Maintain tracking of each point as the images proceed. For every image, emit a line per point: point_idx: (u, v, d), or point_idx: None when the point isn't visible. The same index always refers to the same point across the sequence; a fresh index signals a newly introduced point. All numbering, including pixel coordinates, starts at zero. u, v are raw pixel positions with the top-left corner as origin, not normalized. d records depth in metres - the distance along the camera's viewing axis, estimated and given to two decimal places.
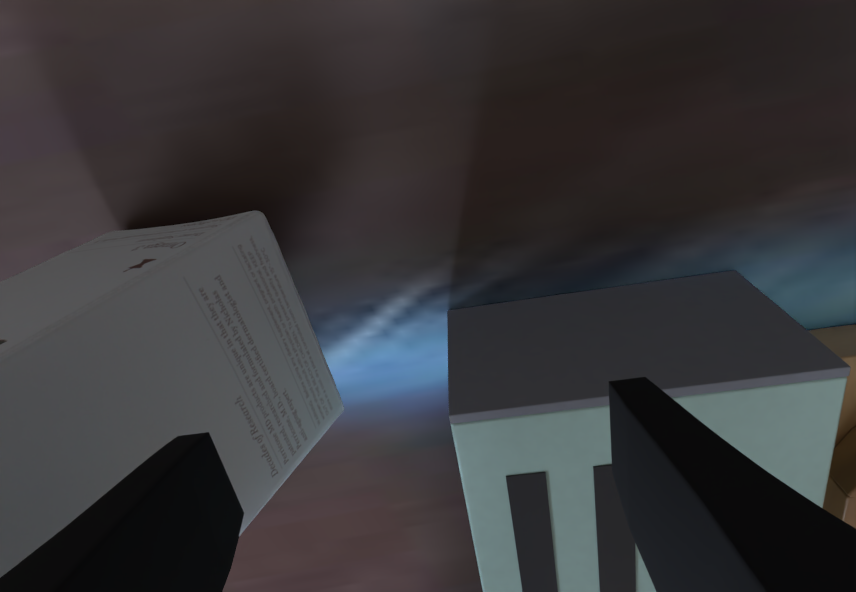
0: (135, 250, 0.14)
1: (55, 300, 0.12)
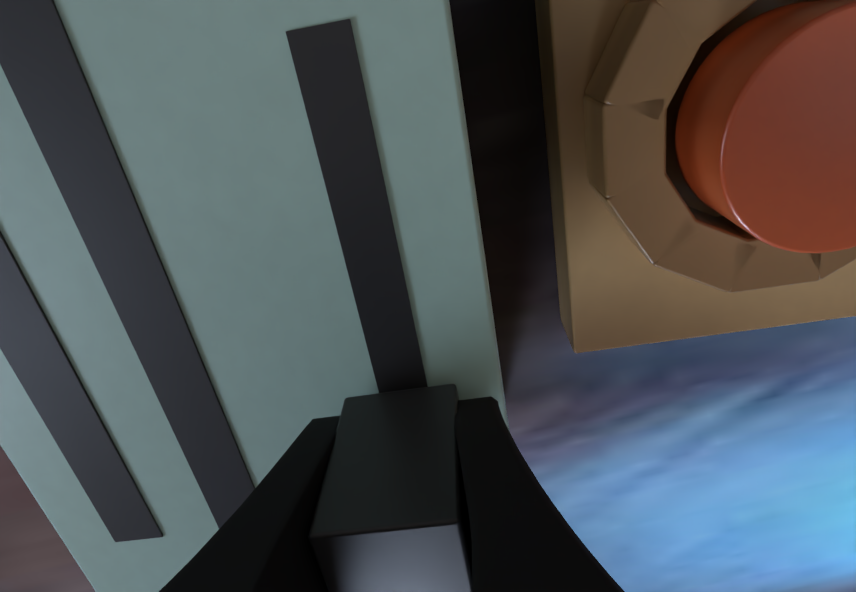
0: None
1: None
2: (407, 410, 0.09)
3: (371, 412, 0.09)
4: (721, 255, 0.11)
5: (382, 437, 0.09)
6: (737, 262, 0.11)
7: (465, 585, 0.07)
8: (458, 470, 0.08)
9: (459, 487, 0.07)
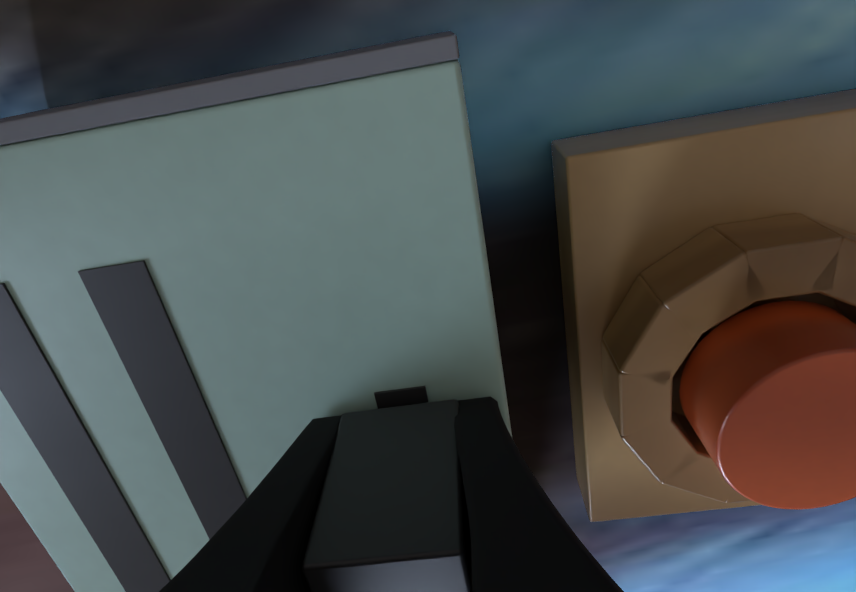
0: None
1: None
2: (406, 429, 0.09)
3: (369, 429, 0.09)
4: (718, 477, 0.13)
5: (381, 457, 0.08)
6: None
7: None
8: (461, 495, 0.07)
9: (462, 514, 0.07)
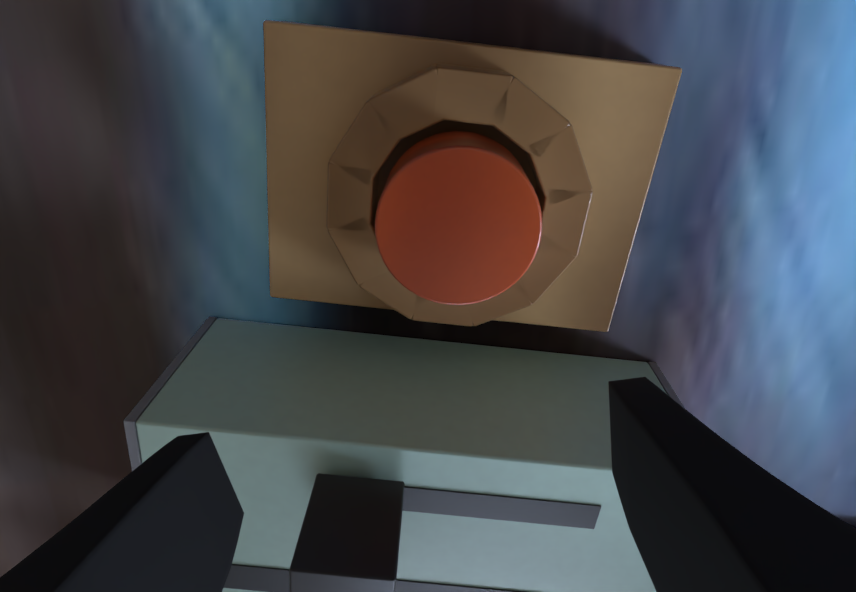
0: None
1: None
2: None
3: None
4: (542, 260, 0.15)
5: None
6: (552, 250, 0.15)
7: (343, 577, 0.12)
8: (300, 536, 0.13)
9: (298, 546, 0.13)
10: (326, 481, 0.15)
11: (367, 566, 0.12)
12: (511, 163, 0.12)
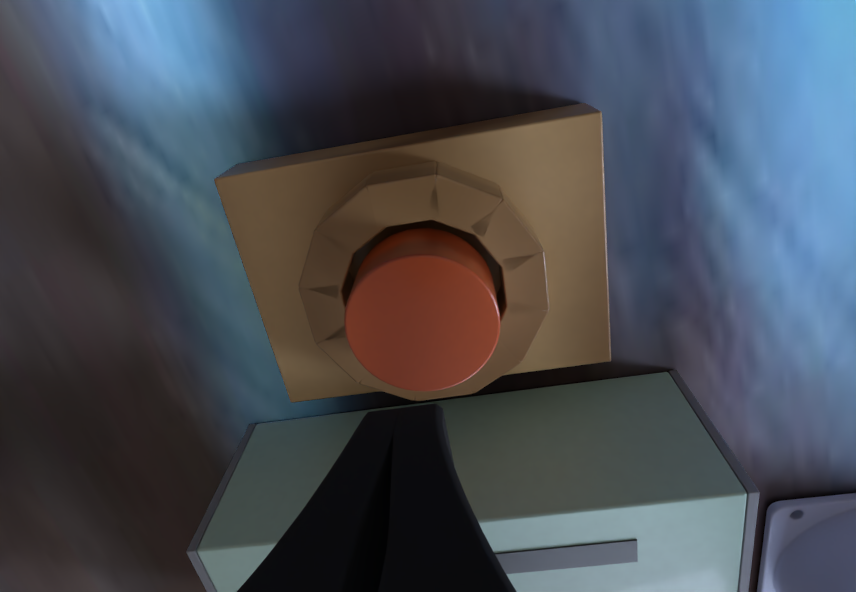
0: None
1: None
2: None
3: None
4: (517, 322, 0.16)
5: None
6: (523, 311, 0.16)
7: None
8: None
9: None
10: None
11: None
12: (449, 259, 0.13)
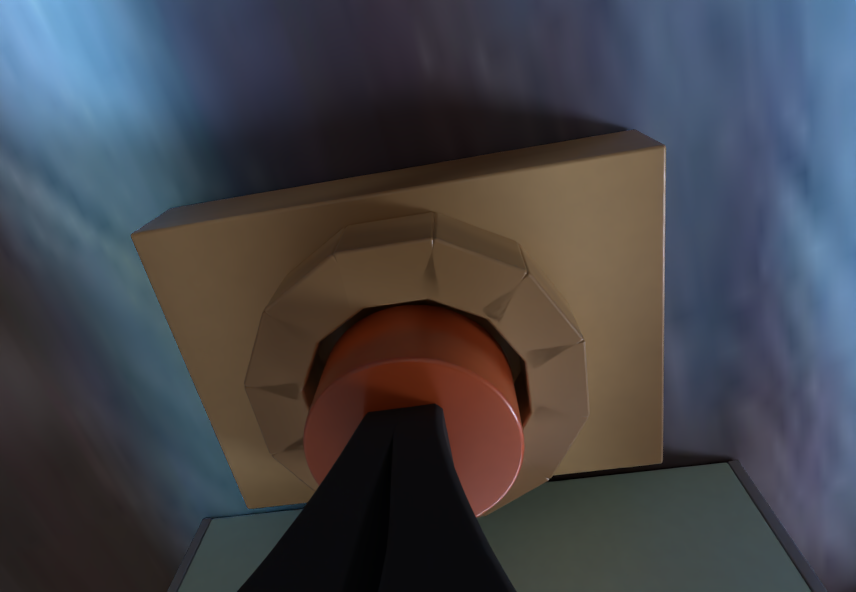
0: None
1: None
2: None
3: None
4: (545, 431, 0.12)
5: None
6: (554, 417, 0.11)
7: None
8: None
9: None
10: None
11: None
12: (453, 365, 0.09)
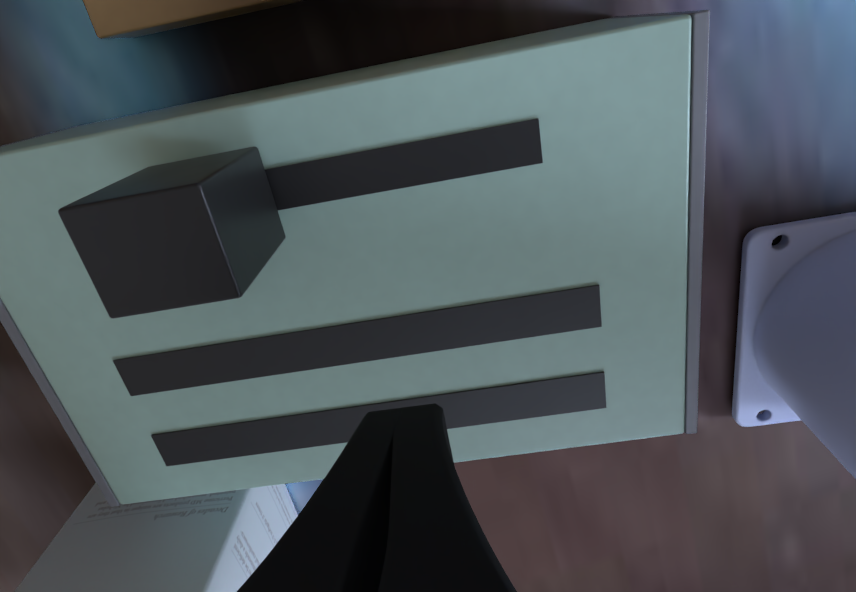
0: None
1: None
2: None
3: None
4: None
5: None
6: None
7: (131, 202, 0.09)
8: (91, 193, 0.09)
9: (81, 198, 0.09)
10: (154, 167, 0.11)
11: (164, 186, 0.09)
12: None
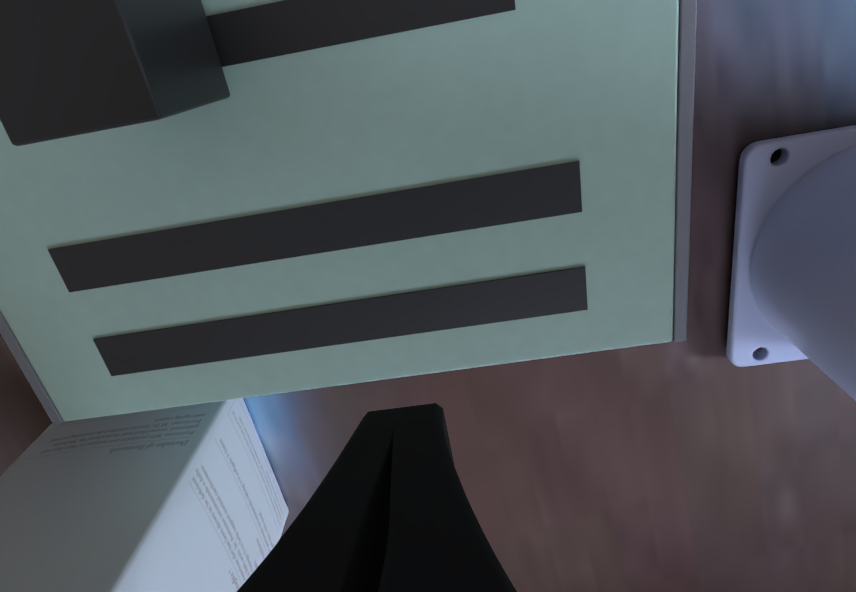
0: None
1: None
2: None
3: None
4: None
5: None
6: None
7: None
8: None
9: None
10: None
11: None
12: None
